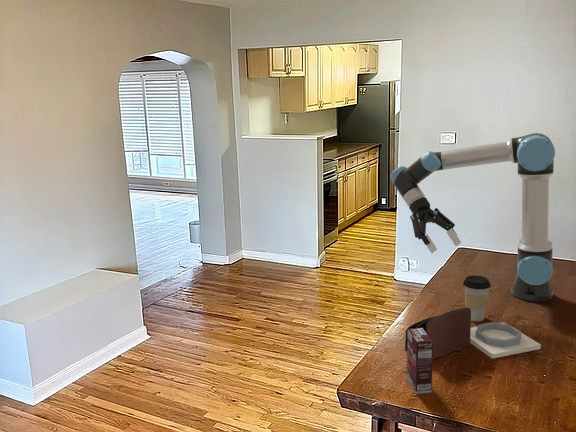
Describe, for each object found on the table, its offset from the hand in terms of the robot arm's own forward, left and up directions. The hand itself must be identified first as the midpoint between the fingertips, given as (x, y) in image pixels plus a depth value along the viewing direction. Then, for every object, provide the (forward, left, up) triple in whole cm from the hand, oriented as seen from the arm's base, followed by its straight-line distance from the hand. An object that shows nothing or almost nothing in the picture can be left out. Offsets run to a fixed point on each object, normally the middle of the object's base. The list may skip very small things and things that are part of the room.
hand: (446, 247), depth 196 cm
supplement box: (+37, +45, -24) cm, 63 cm away
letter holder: (+19, +26, -25) cm, 41 cm away
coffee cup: (-5, +12, -24) cm, 27 cm away
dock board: (-1, +30, -24) cm, 38 cm away
